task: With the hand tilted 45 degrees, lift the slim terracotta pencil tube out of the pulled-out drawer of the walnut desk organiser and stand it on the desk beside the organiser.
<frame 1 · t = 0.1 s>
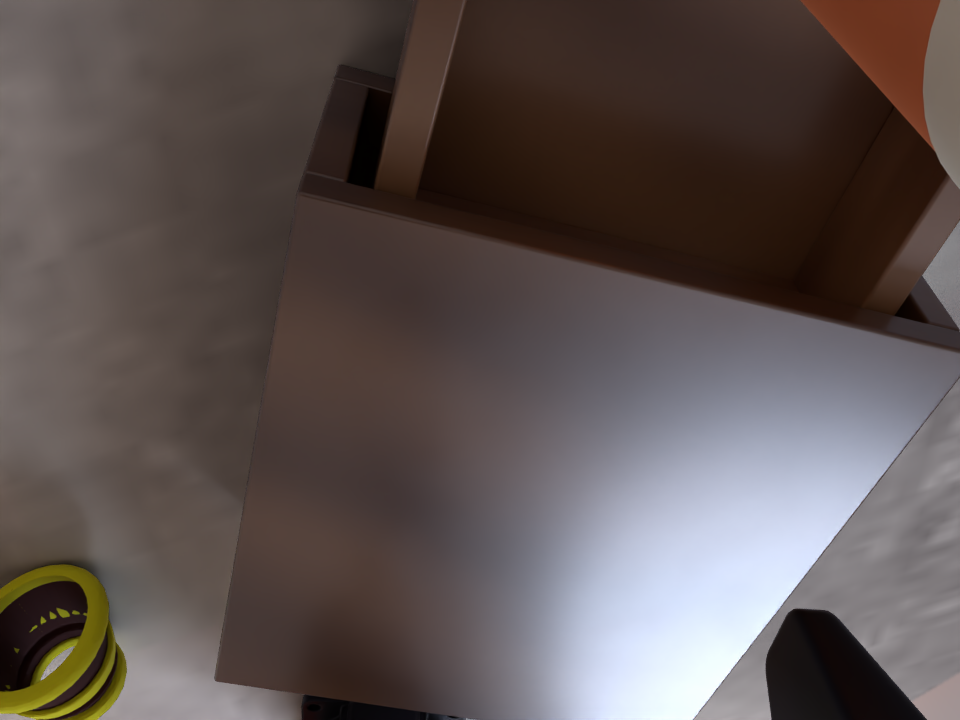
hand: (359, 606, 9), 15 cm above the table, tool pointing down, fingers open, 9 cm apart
organiser: (523, 380, 26), on the table
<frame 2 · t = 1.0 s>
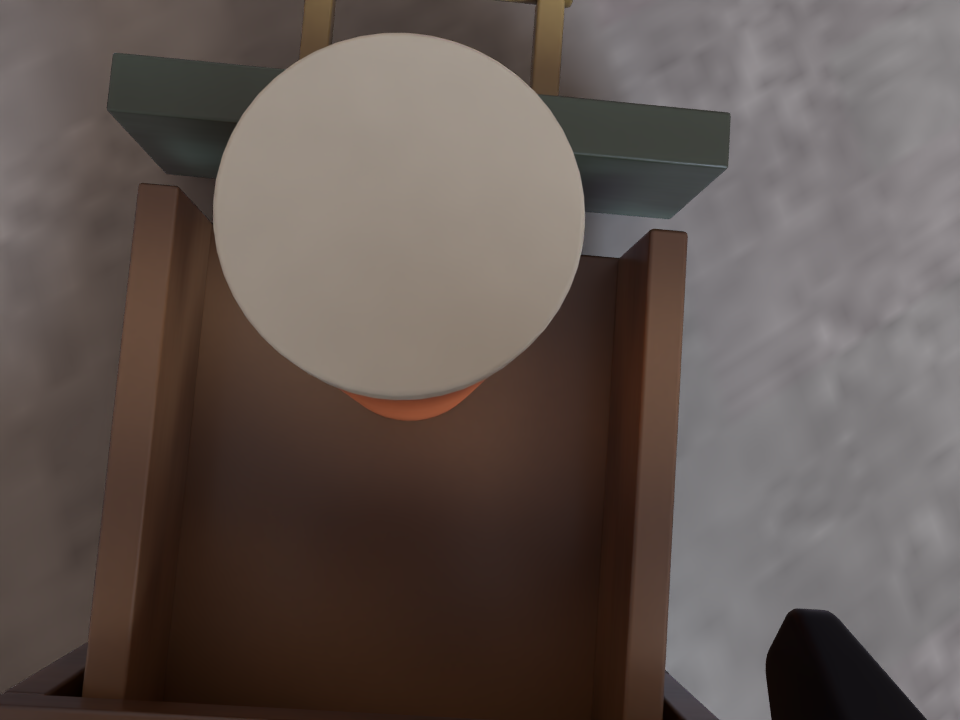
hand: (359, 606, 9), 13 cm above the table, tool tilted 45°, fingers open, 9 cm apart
drawer: (408, 350, 20), point 3 cm above the table, slide at 11.0 cm, touching pencil tube
pencil tube: (409, 342, 21), point 2 cm above the table, touching drawer
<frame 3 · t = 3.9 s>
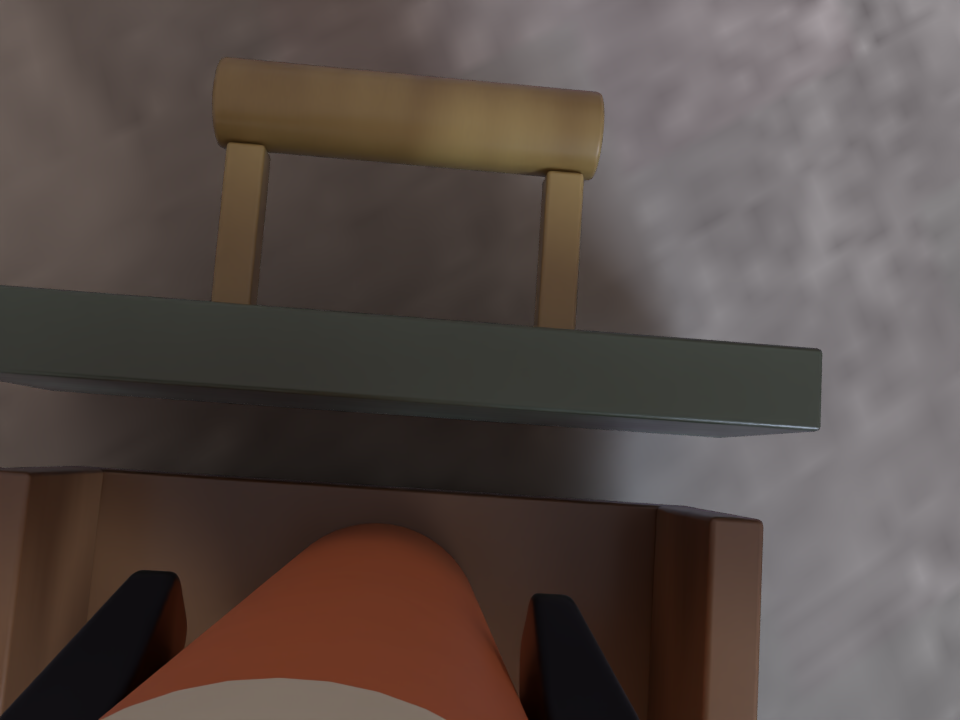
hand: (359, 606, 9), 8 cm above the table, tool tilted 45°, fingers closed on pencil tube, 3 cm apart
drawer: (369, 663, 14), point 3 cm above the table, slide at 11.0 cm, touching pencil tube
pencil tube: (373, 631, 15), point 2 cm above the table, touching drawer, gripper
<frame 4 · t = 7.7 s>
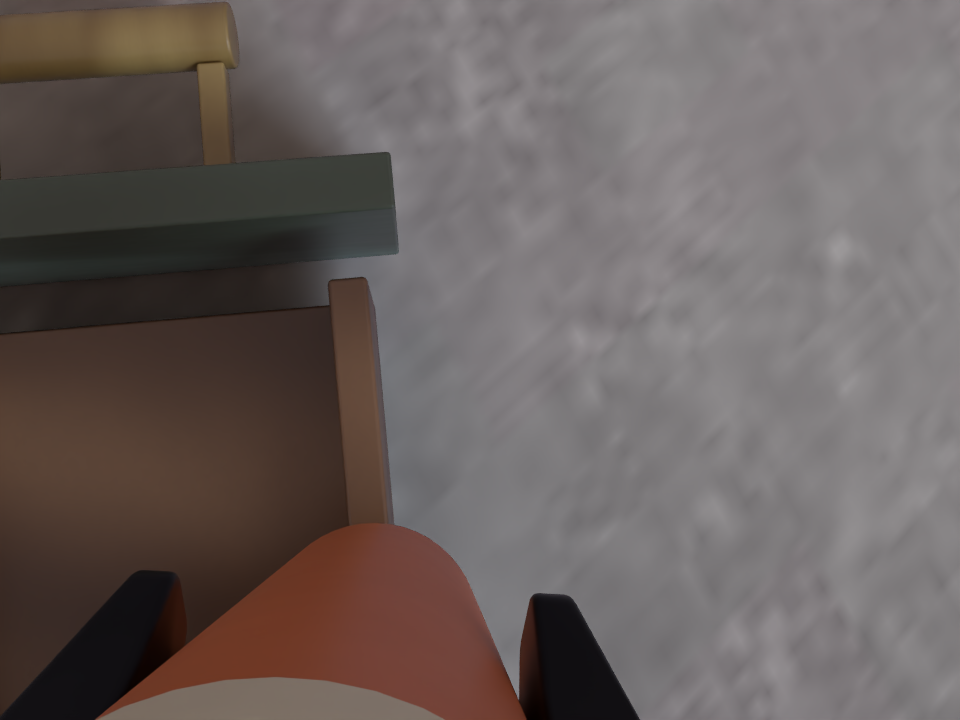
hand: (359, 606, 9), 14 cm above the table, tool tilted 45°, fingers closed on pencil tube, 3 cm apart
drawer: (127, 437, 20), point 3 cm above the table, slide at 11.0 cm
pencil tube: (372, 631, 15), point 7 cm above the table, touching gripper
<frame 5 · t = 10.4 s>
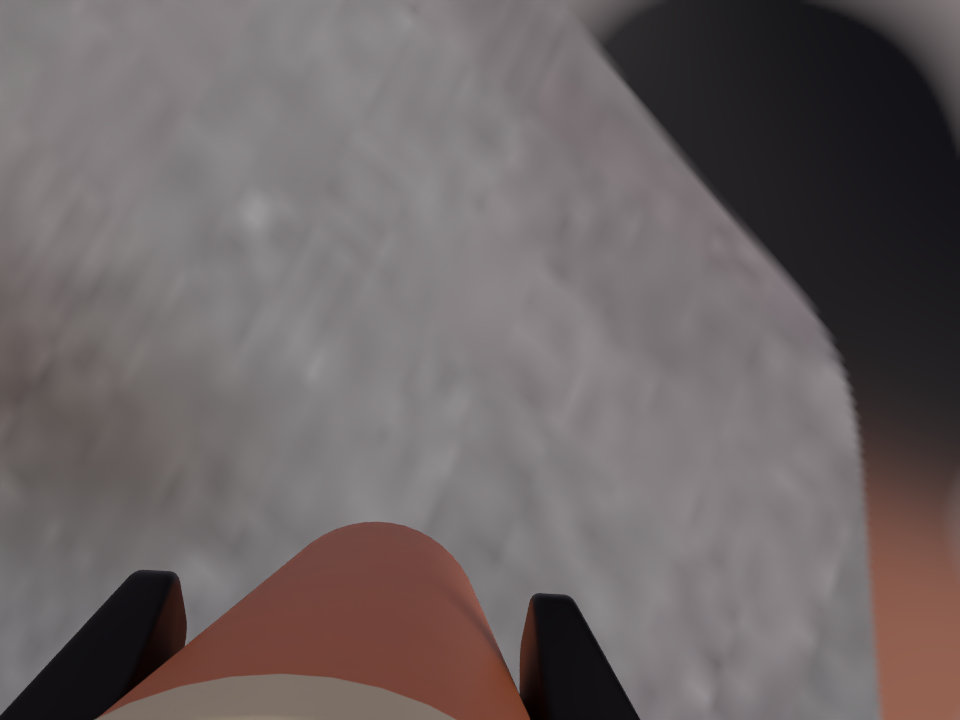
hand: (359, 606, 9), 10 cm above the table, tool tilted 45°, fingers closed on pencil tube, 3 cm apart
pencil tube: (373, 630, 15), point 4 cm above the table, touching gripper
when the fingers open (6 cm above the table, at t = 11.9 s): pencil tube stays where it is, on the table.
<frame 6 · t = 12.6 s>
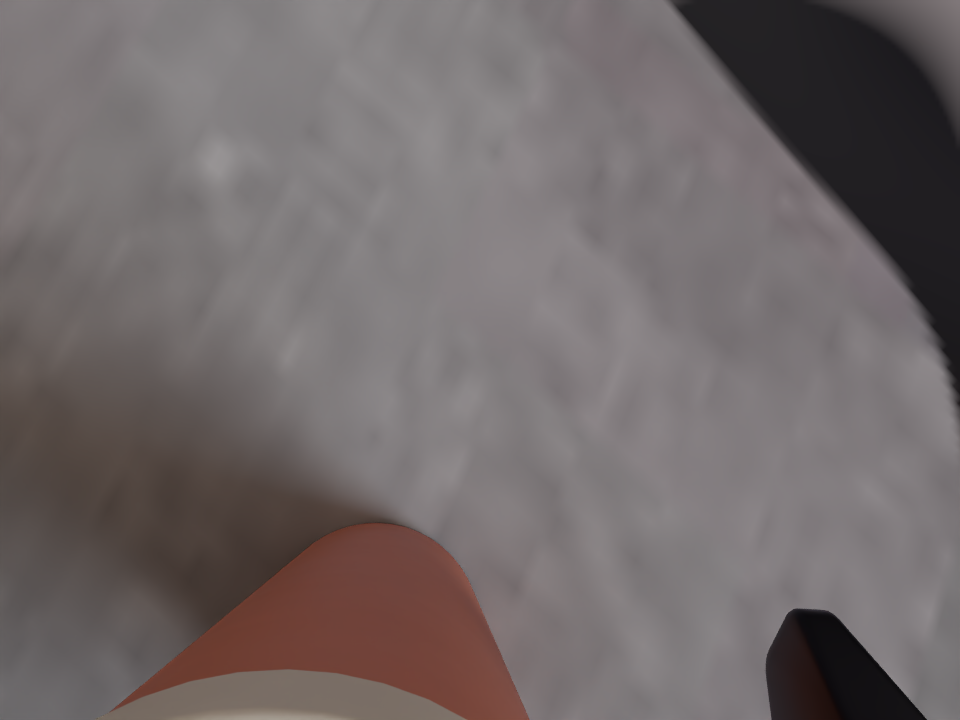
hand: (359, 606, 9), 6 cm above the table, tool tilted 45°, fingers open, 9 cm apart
pencil tube: (374, 629, 16), on the table
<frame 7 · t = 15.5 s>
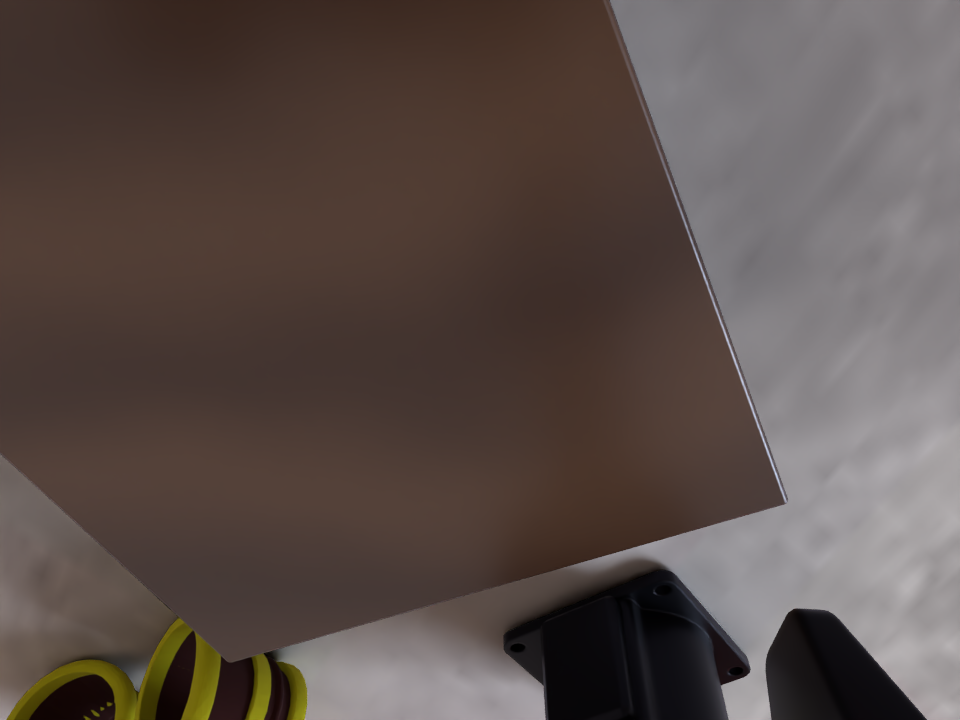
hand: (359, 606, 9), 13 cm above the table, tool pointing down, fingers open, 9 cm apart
organiser: (341, 174, 21), on the table
opera glasses: (175, 662, 33), on the table
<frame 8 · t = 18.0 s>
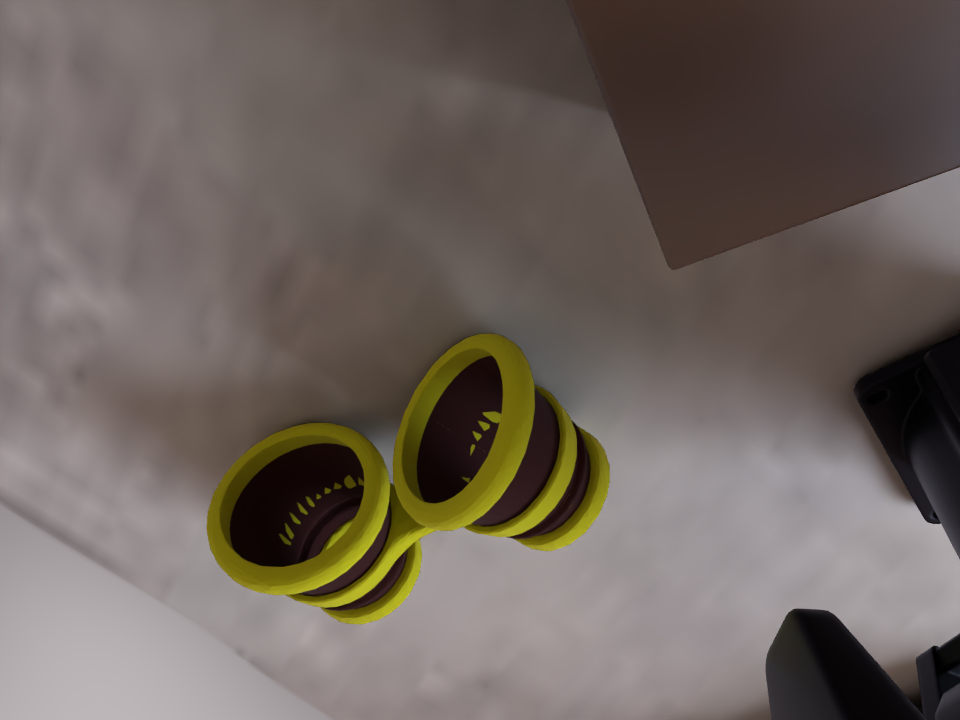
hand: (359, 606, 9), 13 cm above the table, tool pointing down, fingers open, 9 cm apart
opera glasses: (417, 432, 26), on the table
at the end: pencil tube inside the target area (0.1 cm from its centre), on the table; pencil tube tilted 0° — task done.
